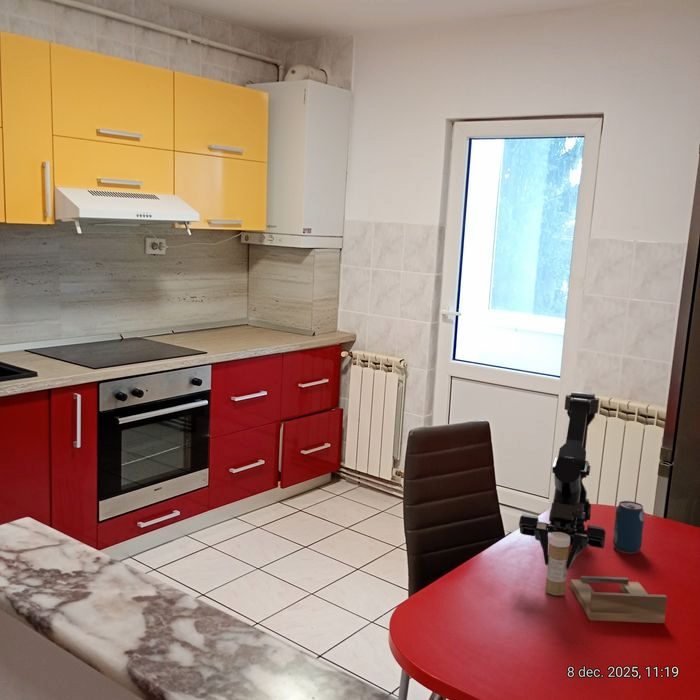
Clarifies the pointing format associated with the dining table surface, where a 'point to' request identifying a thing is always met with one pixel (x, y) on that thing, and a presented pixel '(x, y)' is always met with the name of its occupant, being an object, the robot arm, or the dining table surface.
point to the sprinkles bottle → (557, 563)
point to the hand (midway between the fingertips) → (556, 566)
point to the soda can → (628, 527)
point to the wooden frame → (619, 601)
